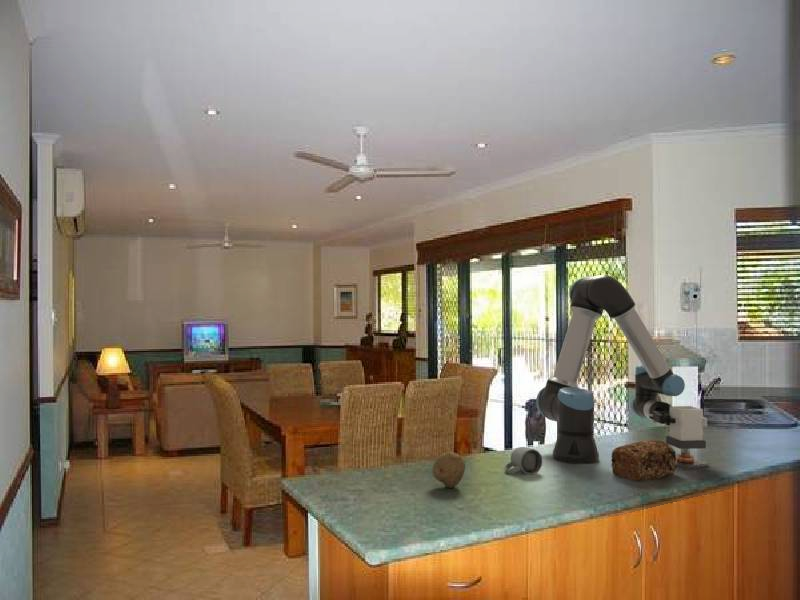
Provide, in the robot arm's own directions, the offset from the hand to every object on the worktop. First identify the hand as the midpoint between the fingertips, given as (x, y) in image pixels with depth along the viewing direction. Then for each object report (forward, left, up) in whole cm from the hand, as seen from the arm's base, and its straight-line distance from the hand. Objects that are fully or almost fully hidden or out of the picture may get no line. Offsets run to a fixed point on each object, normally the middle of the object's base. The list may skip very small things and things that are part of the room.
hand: (694, 422), depth 217 cm
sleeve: (+2, +5, -6) cm, 8 cm away
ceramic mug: (-54, +18, -15) cm, 59 cm away
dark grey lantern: (+2, +5, -14) cm, 15 cm away
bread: (-22, 0, -15) cm, 26 cm away
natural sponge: (-84, +12, -15) cm, 86 cm away
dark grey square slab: (+2, +5, -8) cm, 10 cm away
